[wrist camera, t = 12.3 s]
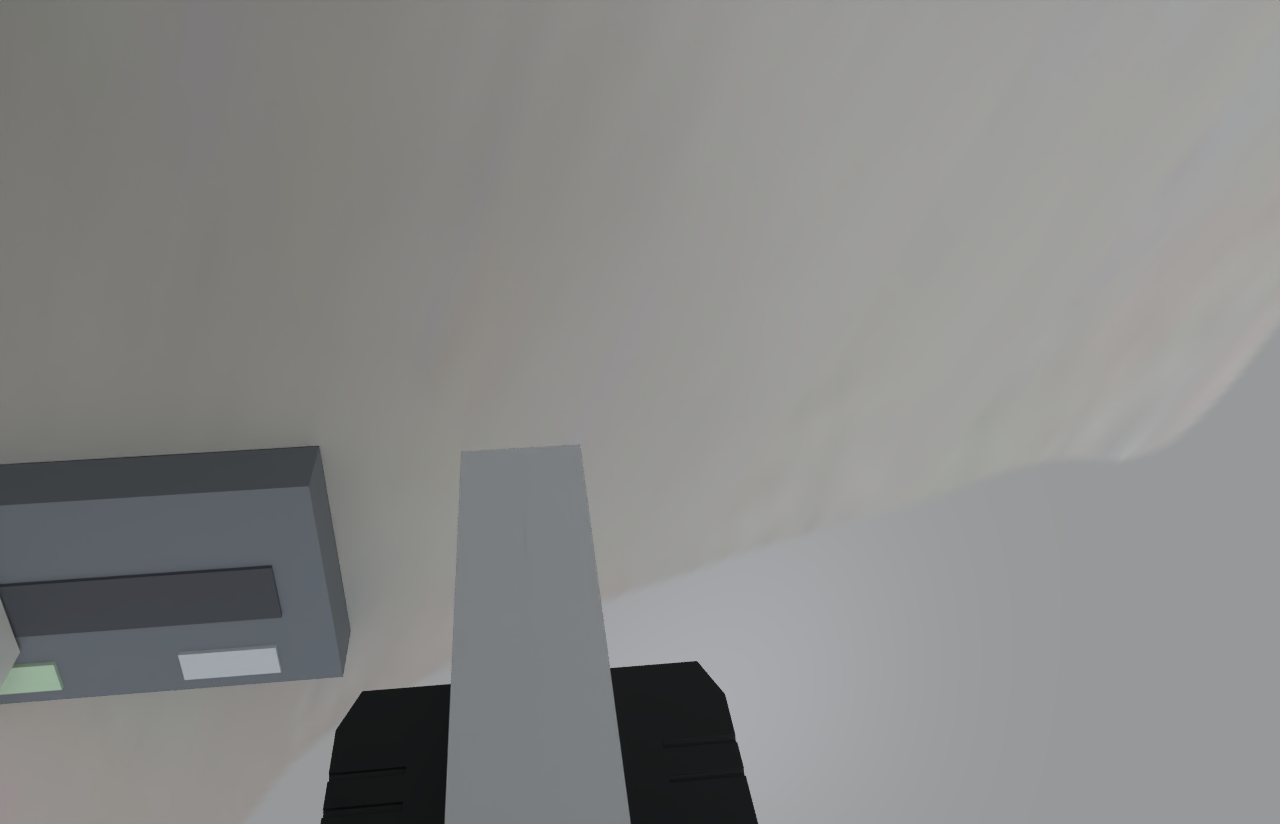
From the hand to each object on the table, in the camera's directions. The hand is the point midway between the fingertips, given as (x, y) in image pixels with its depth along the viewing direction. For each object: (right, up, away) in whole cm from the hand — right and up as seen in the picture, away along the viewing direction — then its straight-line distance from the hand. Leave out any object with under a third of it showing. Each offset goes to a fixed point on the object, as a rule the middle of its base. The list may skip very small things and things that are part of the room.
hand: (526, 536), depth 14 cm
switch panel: (-21, -5, +33) cm, 39 cm away
